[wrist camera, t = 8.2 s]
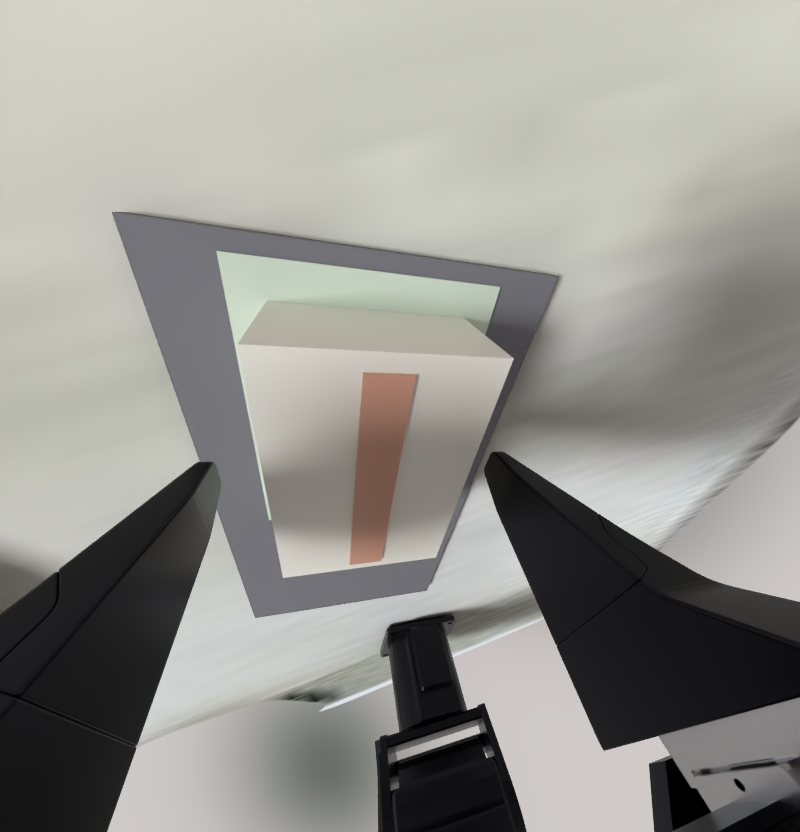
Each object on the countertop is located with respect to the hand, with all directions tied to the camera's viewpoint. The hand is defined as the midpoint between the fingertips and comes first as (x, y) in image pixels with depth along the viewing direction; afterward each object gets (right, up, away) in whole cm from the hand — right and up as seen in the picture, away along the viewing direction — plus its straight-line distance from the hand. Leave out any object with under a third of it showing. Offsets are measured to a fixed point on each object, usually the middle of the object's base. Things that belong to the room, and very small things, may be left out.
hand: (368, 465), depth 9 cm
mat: (-1, -3, +5) cm, 6 cm away
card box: (0, +1, +2) cm, 2 cm away
